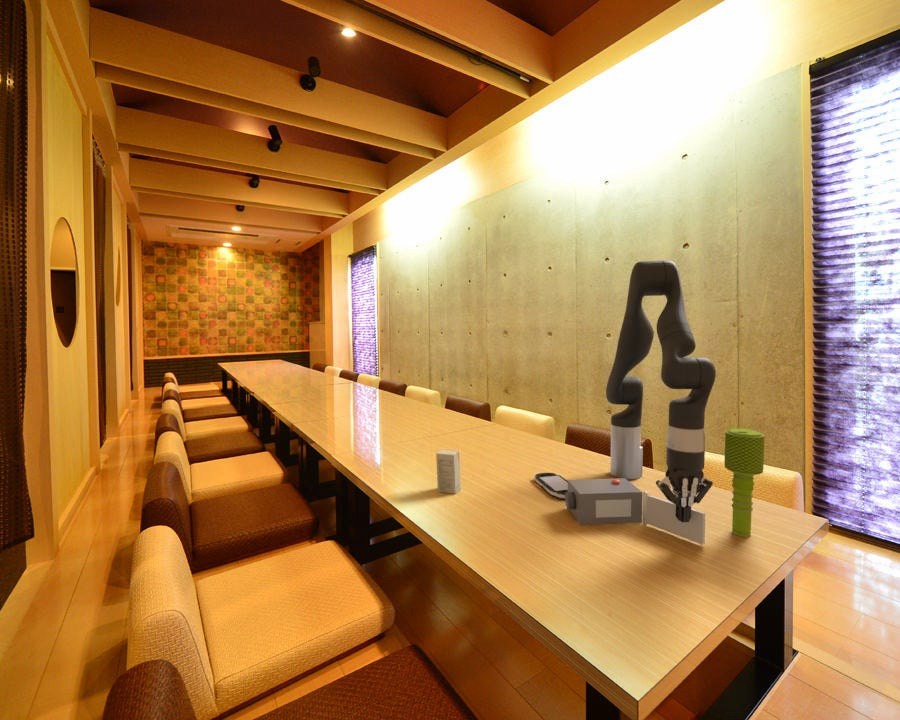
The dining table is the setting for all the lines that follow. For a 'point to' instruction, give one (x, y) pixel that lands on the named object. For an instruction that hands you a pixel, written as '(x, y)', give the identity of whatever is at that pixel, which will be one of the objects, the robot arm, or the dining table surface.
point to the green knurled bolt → (743, 473)
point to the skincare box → (448, 471)
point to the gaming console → (553, 484)
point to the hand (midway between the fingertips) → (683, 520)
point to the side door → (673, 519)
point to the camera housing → (604, 501)
